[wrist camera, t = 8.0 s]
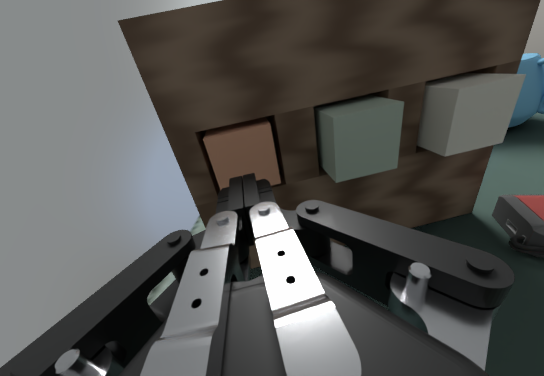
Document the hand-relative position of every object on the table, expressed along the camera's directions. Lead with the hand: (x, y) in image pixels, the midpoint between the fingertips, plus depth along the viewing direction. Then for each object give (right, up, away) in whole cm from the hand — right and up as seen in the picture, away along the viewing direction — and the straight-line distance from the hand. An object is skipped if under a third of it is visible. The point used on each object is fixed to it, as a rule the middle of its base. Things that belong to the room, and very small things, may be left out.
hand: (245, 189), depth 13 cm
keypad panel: (+10, -5, +13) cm, 17 cm away
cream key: (+17, +4, +6) cm, 19 cm away
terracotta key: (0, +1, +7) cm, 7 cm away
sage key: (+9, +2, +6) cm, 11 cm away
